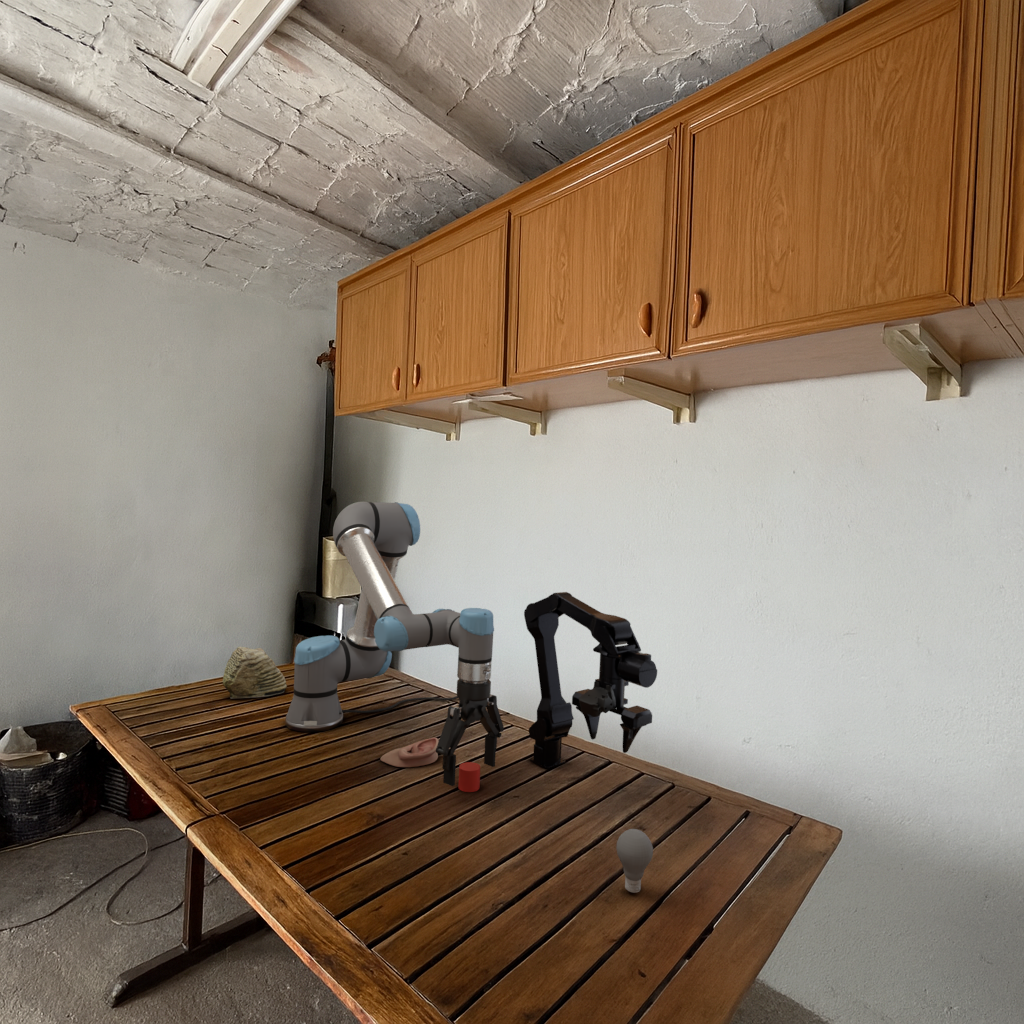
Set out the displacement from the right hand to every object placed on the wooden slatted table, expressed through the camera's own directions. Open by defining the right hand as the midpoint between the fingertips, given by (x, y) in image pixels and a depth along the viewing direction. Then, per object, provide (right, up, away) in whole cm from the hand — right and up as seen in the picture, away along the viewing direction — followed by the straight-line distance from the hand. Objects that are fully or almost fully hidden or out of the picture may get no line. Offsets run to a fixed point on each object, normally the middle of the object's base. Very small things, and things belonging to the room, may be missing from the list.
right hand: (608, 745), depth 140 cm
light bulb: (-1, -12, -35) cm, 37 cm away
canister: (-31, -10, +1) cm, 33 cm away
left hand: (-31, -7, +1) cm, 31 cm away
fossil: (-102, -6, +58) cm, 117 cm away
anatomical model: (-47, -9, +15) cm, 49 cm away
